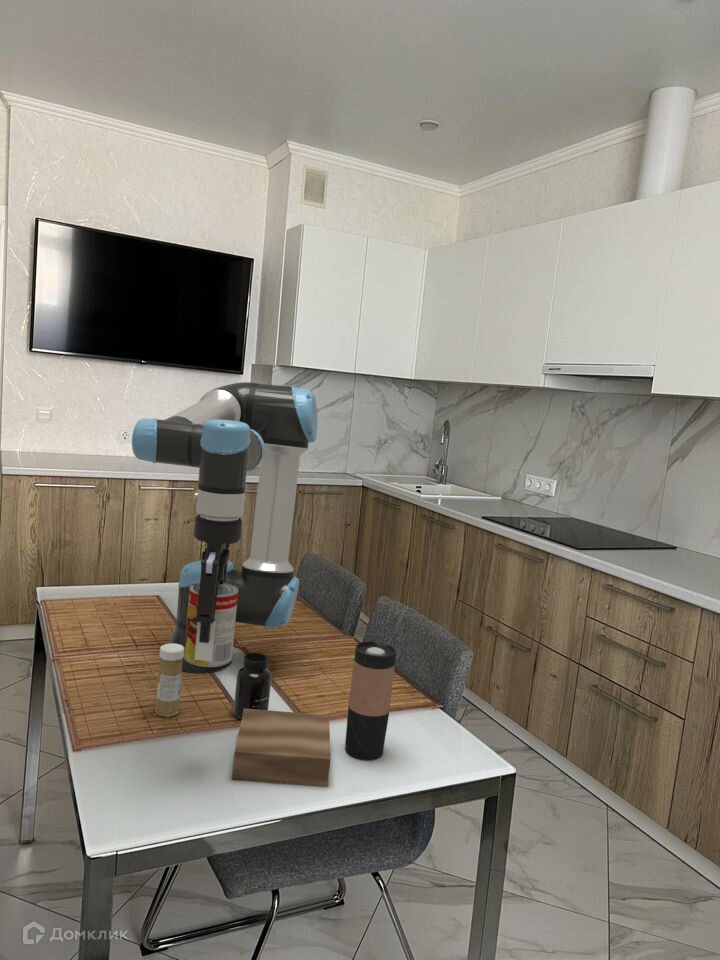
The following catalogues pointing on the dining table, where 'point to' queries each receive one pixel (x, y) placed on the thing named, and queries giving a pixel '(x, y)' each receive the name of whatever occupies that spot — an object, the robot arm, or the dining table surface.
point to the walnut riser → (283, 748)
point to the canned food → (223, 625)
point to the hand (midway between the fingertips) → (207, 649)
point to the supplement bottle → (252, 684)
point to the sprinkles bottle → (169, 679)
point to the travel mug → (369, 700)
